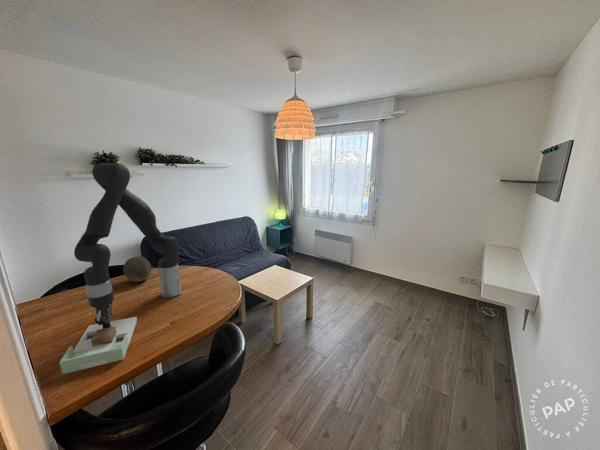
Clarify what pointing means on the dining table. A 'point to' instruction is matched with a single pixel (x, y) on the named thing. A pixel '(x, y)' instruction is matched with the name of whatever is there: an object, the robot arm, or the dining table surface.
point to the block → (103, 336)
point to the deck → (99, 347)
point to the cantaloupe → (137, 269)
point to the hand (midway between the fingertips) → (107, 329)
